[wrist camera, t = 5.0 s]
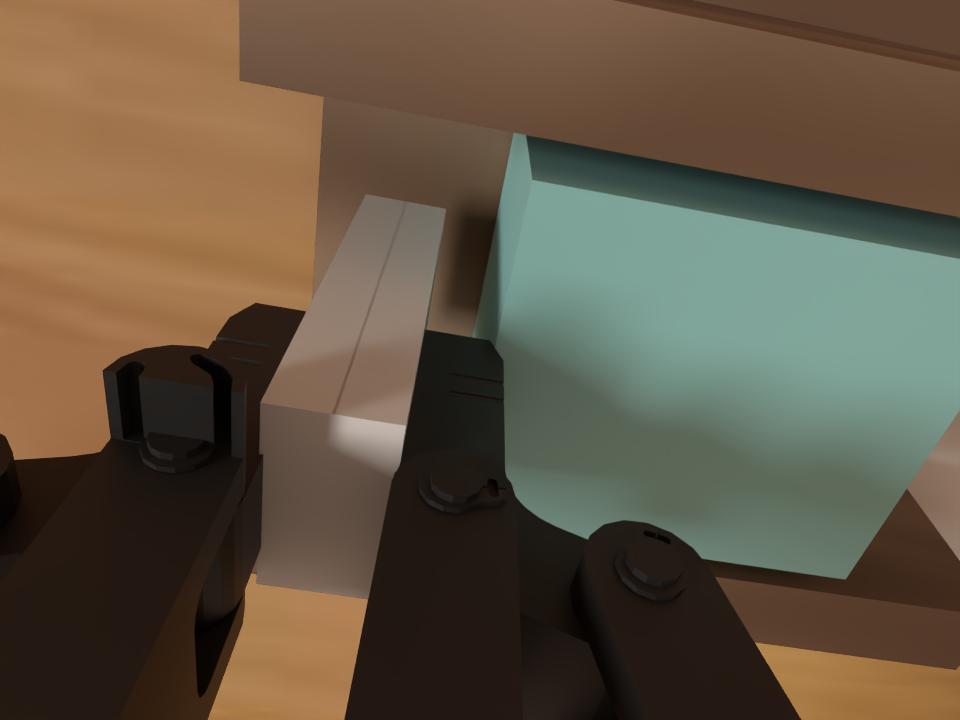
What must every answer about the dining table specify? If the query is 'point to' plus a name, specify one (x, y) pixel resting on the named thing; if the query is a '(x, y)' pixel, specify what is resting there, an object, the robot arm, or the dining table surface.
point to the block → (717, 353)
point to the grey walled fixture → (667, 137)
